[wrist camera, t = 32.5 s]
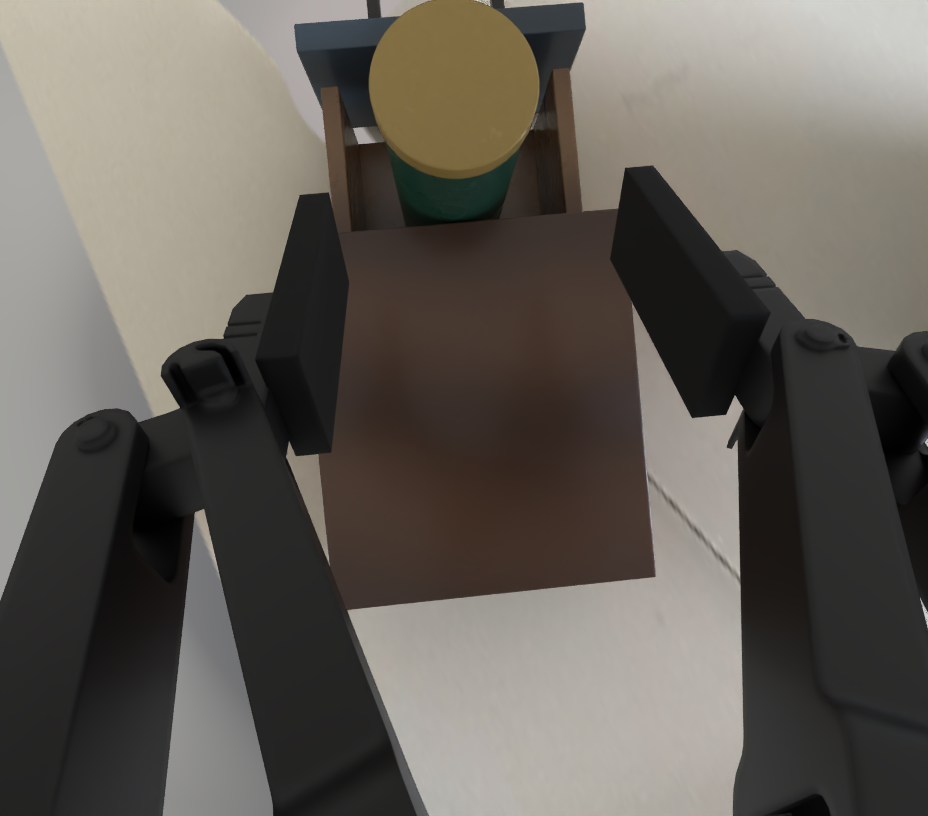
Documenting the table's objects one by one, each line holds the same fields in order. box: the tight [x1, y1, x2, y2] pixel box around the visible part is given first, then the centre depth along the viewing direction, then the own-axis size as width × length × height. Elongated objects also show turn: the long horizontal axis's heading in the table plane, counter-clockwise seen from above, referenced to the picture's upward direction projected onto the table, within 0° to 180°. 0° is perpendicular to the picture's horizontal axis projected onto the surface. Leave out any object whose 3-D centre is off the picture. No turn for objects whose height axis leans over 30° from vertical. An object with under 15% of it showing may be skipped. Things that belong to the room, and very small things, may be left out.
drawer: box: [294, 0, 586, 233], centre depth 27 cm, size 20×13×7 cm, turn 6°
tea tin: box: [369, 0, 539, 227], centre depth 24 cm, size 6×6×12 cm
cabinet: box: [318, 209, 656, 610], centre depth 27 cm, size 16×14×9 cm
